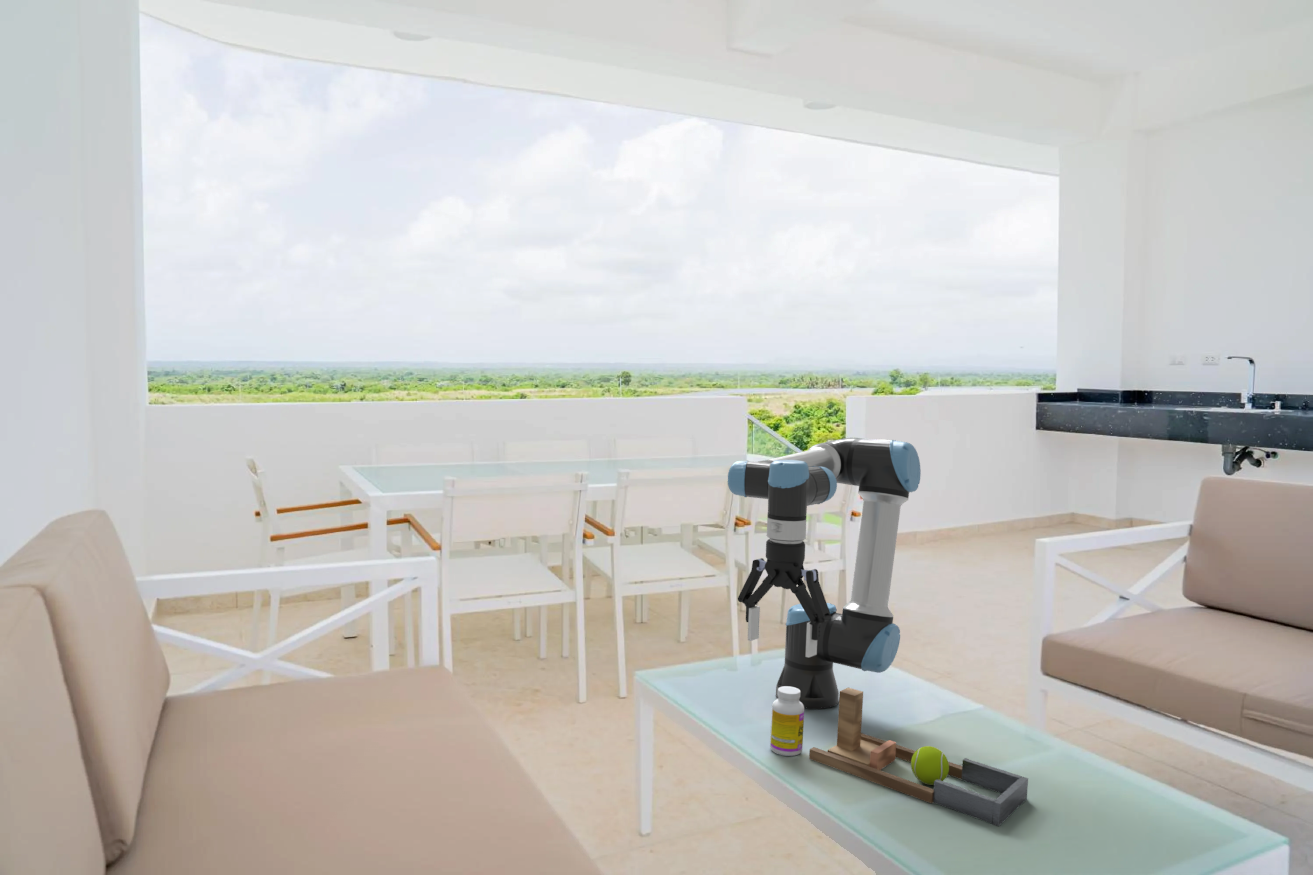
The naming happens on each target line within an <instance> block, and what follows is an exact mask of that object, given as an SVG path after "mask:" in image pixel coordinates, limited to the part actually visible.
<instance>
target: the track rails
mask: <svg viewBox="0 0 1313 875" xmlns="http://www.w3.org/2000/svg"><path fill="white" fill-rule="evenodd" d="M861 740H864V741H867V742H870V743H873V744H876V745H879V746H880V745H882V744H884V743H885V742H887V741H888V740H883V739H881V738H878V737H874V736H872V735H869V734H866V733H863V732H861ZM915 751H916V750H914V749H911V748H909V747H905V746H902V745H899V744H896V754H895V759H896V758H897V759H901V760H903V761H906V762H909V763H911V760H912V756H913V754H914V753H915ZM808 758H809V760H810V761H814V762H817V763H820V764H822V765H825V766H827V767H831V768H833V769H835V770H836V769H837V770H838V771H842V772H844V773H847V774H849V775H853V776H856V777H858V778H861V779H863V780H866V781H869V782H872V783H874V784H877V785H880V786H883V787H885V788H888V789H892V790H894V791H896V792H898V793H902V794H904V795H907V796H909V797H912V798H916V799H919V800H921V801H923V802H926V803H929V804H934V803H933V793H934V788H932V787H928V786H925V785H924V784H920V783H918V782H914V781H911V780H908V779H906V778H903V777H899V776H898V775H894V774H891V773H889V772H886V771H883V770H878V769H875V768H872V767H869V766H866V765H864V764H861V763H858V762H855V761H852V760H849V759H847V758H844V757H841V756H838V755H835V754H832V753H830V752H828V750H827V751H826V750H823V749H822V748H821V749H820V748H818V747H815V746H813V747H811V748H810V749H809V757H808ZM948 763H949V772H948V775H947V776H950V777H953V778H957V779H959V780H961V779H962V765H960V764H959V763H958V764H957V763H954V762H951V761H948Z"/></svg>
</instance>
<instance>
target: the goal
mask: <svg viewBox="0 0 1313 875" xmlns="http://www.w3.org/2000/svg"><path fill="white" fill-rule="evenodd" d="M961 766H962V779H960V780H961V781H962V782H963V781H964V782H967V783H970V784H972V785H975V786H978V787H981V788H984V789H987V790H991V791H993V792H996V793H999V794H1000V795H999V796H998V797H997V798H992V797H989V796H987V795H983V794H982V793H978V792H975V791H972V790H969V789H966V788H963V787H961V786H957V785H954V784H952V783H948V781H947V782H946V781H945V780H944V781H941V780H938V779H937V780H935V781H934V785H933V789H934V793H933V803H932V804H936V805H938V806H942V807H945V808H947V809H950V810H953V811H955V812H958V813H961V814H964V815H967V816H969V817H972V818H975V819H978V820H980V821H983V822H986V823H988V824H991V825H993V826H997V827H1000V826H1001V825H1002V824H1003V823H1004V822H1005V821H1006V820H1007V819H1008V818H1009V817H1010V816H1011V815H1012V814H1013V813H1014V812H1015V811H1016V810H1017V809H1018V808H1019V807H1021V805H1023V803H1024V802H1025V801H1026V800H1028V789H1029V788H1028V787H1029V786H1028V784H1029V778H1028V777H1026V776H1021V775H1019V774H1016V773H1012V772H1009V771H1007V770H1003V769H1000V768H997V767H994V766H991V765H988V764H985V763H981V762H979V761H975V760H972V759H970V758H964V759H962V765H961Z"/></svg>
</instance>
